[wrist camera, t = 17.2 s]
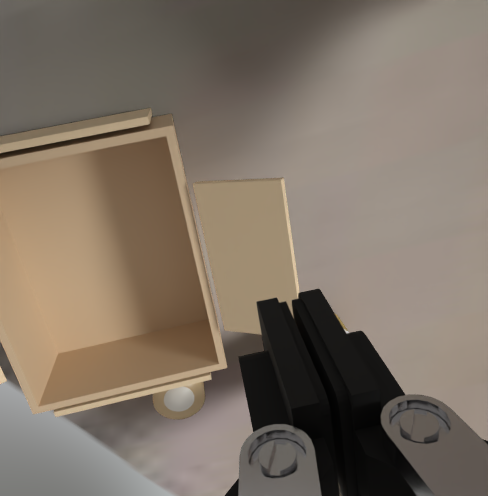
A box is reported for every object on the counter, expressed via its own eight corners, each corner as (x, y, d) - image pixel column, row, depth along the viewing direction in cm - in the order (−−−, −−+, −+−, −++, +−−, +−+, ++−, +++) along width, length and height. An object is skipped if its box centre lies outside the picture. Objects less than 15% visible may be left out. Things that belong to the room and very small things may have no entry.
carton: (-31, 141, 37) (-81, 160, 29) (169, 102, 38) (170, 112, 30) (57, 363, 45) (36, 422, 38) (219, 326, 46) (229, 376, 39)
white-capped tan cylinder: (149, 353, 46) (146, 384, 42) (196, 342, 47) (199, 372, 42) (160, 391, 48) (159, 425, 44) (205, 380, 48) (209, 413, 44)
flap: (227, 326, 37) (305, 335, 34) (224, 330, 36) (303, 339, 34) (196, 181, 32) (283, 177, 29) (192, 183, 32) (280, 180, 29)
